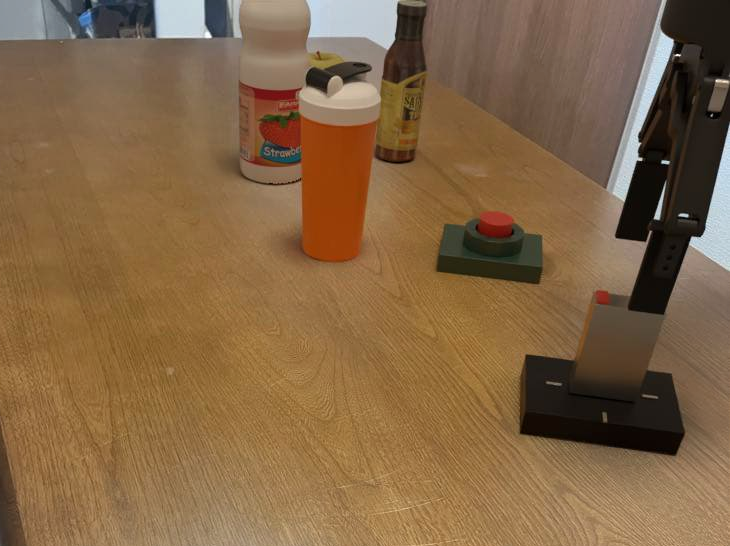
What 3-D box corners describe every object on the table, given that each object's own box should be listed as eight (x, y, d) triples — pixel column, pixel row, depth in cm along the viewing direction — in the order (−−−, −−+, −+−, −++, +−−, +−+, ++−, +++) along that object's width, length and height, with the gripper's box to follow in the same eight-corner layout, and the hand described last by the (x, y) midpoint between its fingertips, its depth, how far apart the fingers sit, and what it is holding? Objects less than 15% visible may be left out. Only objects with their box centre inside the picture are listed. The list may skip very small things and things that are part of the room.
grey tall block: (633, 388, 81) (664, 297, 75) (635, 402, 79) (667, 310, 73) (568, 379, 82) (594, 288, 75) (569, 393, 80) (595, 301, 74)
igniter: (538, 251, 108) (545, 220, 105) (538, 284, 101) (546, 252, 99) (442, 240, 109) (446, 208, 106) (436, 272, 102) (441, 239, 100)
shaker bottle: (383, 250, 106) (401, 70, 92) (334, 273, 101) (346, 85, 87) (328, 227, 110) (337, 51, 96) (279, 248, 105) (281, 65, 91)
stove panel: (663, 394, 85) (672, 371, 84) (676, 456, 78) (686, 432, 76) (520, 375, 87) (526, 351, 85) (519, 434, 79) (525, 410, 77)
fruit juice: (273, 155, 127) (276, -77, 108) (320, 174, 123) (331, -64, 104) (225, 170, 122) (219, -71, 103) (272, 191, 118) (275, -57, 98)
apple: (292, 93, 149) (294, 41, 144) (349, 97, 149) (352, 45, 144) (288, 112, 142) (289, 57, 136) (348, 116, 142) (351, 62, 136)
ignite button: (511, 227, 104) (514, 213, 103) (510, 241, 101) (513, 227, 100) (478, 223, 104) (480, 209, 103) (476, 237, 101) (479, 223, 100)
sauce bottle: (403, 167, 126) (420, 11, 113) (366, 157, 129) (379, 2, 115) (423, 154, 131) (442, 2, 117) (387, 145, 133) (402, -5, 119)
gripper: (656, -62, 67) (584, 208, 82) (704, 8, 49) (601, 340, 64) (755, -53, 67) (665, 218, 81) (840, 22, 49) (705, 354, 63)
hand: (637, 272), depth 73 cm, fingers open, 13 cm apart
